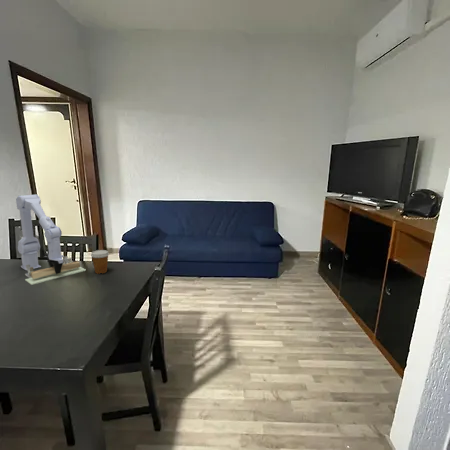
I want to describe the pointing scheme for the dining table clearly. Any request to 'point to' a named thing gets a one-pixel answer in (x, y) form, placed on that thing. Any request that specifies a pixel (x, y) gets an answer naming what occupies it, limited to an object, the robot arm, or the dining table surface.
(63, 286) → the dining table surface
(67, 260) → the rack
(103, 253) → the disposable coffee cup
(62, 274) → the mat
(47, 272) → the rail
